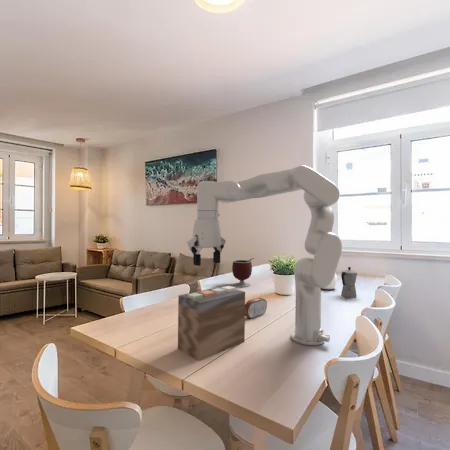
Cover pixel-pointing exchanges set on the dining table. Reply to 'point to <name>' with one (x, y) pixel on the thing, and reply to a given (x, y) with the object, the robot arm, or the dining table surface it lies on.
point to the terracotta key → (207, 293)
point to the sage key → (194, 296)
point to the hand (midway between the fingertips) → (207, 263)
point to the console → (211, 323)
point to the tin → (255, 307)
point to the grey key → (218, 290)
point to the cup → (332, 283)
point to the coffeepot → (348, 283)
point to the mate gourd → (242, 271)
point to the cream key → (229, 288)
